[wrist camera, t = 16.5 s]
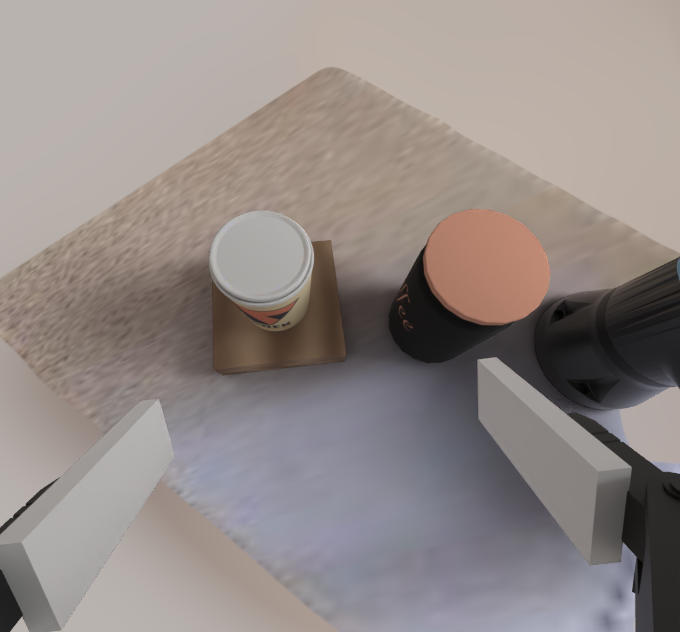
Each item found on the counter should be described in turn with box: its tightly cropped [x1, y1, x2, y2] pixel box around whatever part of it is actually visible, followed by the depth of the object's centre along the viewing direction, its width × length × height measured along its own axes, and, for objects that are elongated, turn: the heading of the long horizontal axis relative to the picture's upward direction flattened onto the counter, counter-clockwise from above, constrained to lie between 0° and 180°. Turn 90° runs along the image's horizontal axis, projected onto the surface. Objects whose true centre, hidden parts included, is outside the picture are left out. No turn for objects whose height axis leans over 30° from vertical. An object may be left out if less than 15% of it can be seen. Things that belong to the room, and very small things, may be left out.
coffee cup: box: [208, 211, 314, 331], centre depth 36 cm, size 9×9×12 cm
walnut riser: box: [212, 240, 346, 375], centre depth 44 cm, size 15×15×4 cm
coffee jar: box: [389, 209, 550, 363], centre depth 38 cm, size 11×11×18 cm
